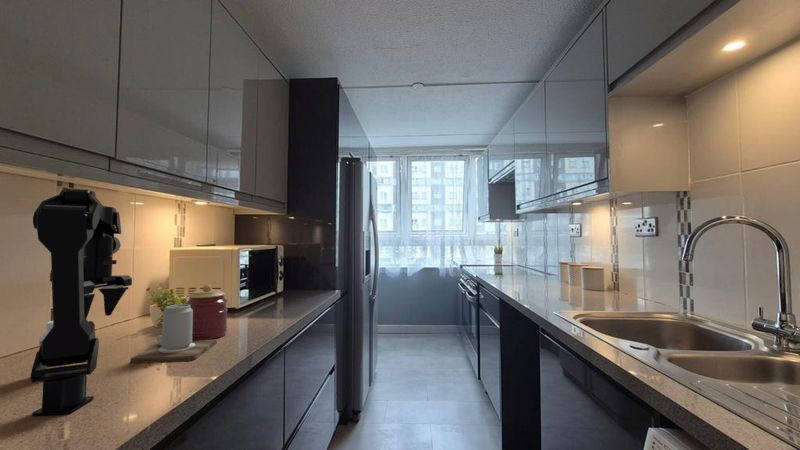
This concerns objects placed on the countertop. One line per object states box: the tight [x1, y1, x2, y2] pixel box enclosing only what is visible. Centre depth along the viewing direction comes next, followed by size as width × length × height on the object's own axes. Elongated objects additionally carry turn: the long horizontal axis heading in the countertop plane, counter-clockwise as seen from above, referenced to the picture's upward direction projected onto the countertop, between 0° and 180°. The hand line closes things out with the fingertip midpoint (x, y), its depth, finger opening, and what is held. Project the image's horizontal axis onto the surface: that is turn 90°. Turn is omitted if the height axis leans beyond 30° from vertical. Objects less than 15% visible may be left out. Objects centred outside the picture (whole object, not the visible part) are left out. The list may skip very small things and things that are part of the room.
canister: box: [184, 283, 229, 340], centre depth 121 cm, size 13×13×18 cm
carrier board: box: [130, 337, 218, 364], centre depth 103 cm, size 16×16×3 cm
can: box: [161, 303, 193, 350], centre depth 103 cm, size 8×8×12 cm
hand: (95, 319), depth 87 cm, fingers open, 9 cm apart
